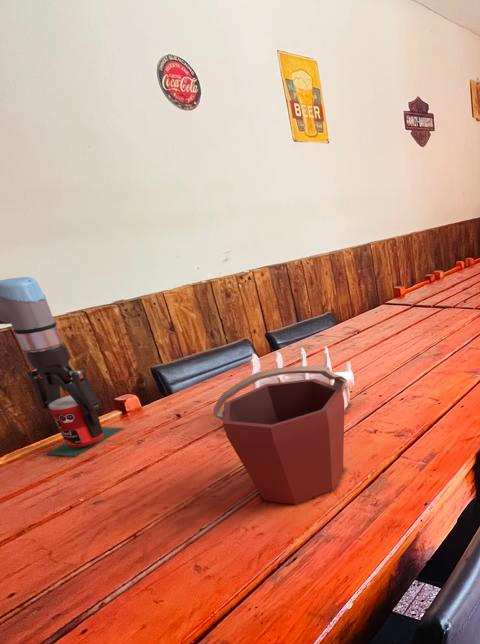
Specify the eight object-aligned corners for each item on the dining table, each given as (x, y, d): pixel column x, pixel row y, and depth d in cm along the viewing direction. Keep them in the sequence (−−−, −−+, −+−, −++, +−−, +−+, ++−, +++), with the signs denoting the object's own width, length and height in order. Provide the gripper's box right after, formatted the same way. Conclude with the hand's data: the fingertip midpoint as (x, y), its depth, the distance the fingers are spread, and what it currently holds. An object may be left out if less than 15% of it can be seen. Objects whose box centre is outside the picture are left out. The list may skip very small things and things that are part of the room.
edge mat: (47, 454, 125) (47, 454, 125) (95, 428, 137) (95, 427, 137) (74, 456, 123) (74, 455, 123) (120, 429, 136) (120, 428, 136)
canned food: (61, 443, 127) (43, 403, 122) (97, 430, 133) (80, 391, 128) (74, 451, 123) (55, 410, 118) (110, 437, 129) (93, 397, 124)
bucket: (363, 448, 119) (344, 346, 108) (359, 503, 99) (336, 384, 88) (253, 463, 115) (223, 359, 104) (227, 523, 96) (186, 402, 85)
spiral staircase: (357, 425, 139) (260, 434, 134) (356, 378, 149) (266, 384, 145) (349, 379, 124) (240, 387, 120) (348, 331, 135) (248, 336, 131)
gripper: (96, 342, 119) (130, 429, 129) (24, 341, 122) (63, 425, 133) (67, 353, 112) (106, 443, 122) (-8, 352, 116) (35, 439, 126)
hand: (83, 434), depth 127 cm, fingers closed on canned food, 8 cm apart
